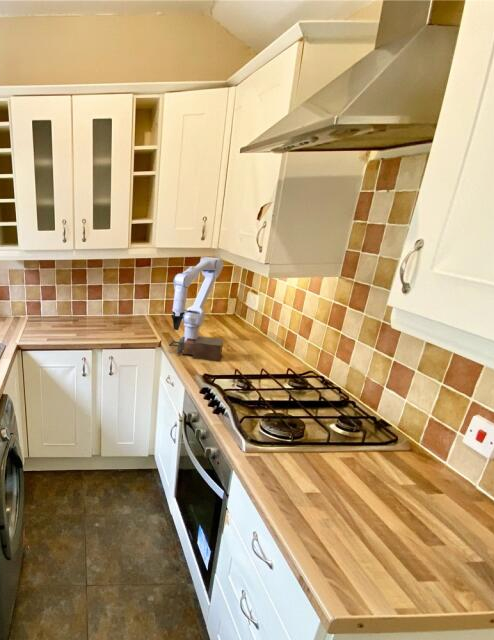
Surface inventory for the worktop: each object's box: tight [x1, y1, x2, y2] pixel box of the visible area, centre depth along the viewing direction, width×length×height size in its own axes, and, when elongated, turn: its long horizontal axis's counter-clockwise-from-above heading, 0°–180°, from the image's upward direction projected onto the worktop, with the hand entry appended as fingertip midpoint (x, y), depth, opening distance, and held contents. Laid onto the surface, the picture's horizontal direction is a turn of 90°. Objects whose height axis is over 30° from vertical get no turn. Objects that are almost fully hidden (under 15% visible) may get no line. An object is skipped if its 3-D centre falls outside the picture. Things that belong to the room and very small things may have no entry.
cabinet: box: [192, 336, 224, 362], centre depth 192 cm, size 12×11×8 cm
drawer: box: [168, 336, 196, 356], centre depth 195 cm, size 15×9×6 cm, turn 66°
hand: (176, 328), depth 199 cm, fingers open, 7 cm apart
